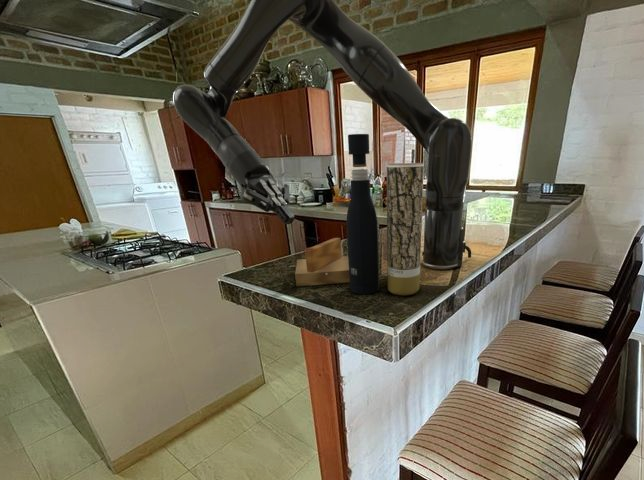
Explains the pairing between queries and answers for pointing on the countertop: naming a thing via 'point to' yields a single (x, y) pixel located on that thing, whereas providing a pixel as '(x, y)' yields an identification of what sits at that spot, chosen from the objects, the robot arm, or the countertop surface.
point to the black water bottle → (361, 223)
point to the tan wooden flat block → (323, 254)
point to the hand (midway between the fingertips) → (291, 221)
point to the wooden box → (323, 273)
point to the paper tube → (404, 226)
